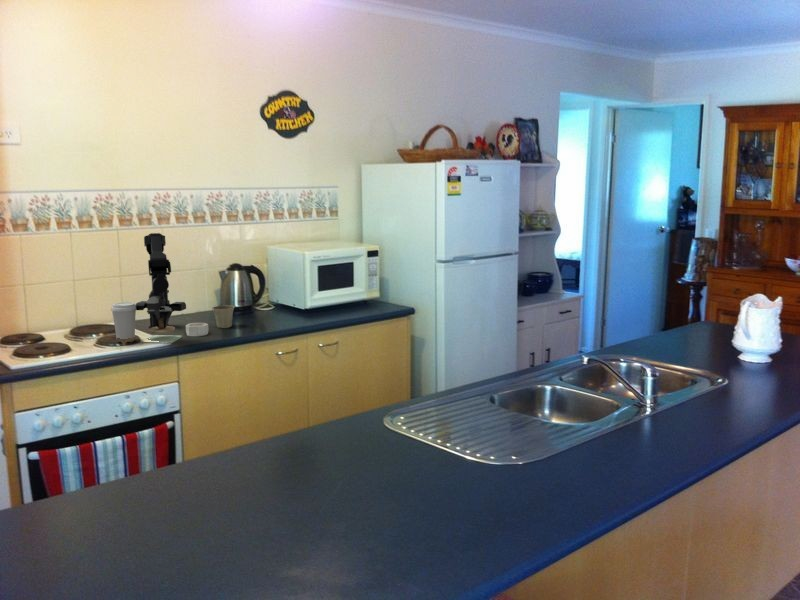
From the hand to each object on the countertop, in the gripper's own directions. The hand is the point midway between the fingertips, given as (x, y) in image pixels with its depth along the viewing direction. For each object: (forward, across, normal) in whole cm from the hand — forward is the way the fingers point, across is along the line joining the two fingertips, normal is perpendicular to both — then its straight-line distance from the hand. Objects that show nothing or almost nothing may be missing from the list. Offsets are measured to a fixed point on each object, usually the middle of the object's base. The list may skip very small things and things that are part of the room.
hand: (161, 327), depth 291 cm
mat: (+5, 0, 0) cm, 5 cm away
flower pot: (+5, +16, +27) cm, 32 cm away
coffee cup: (+5, -13, -5) cm, 15 cm away
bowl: (+5, +10, +11) cm, 16 cm away
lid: (+1, 0, 0) cm, 1 cm away
